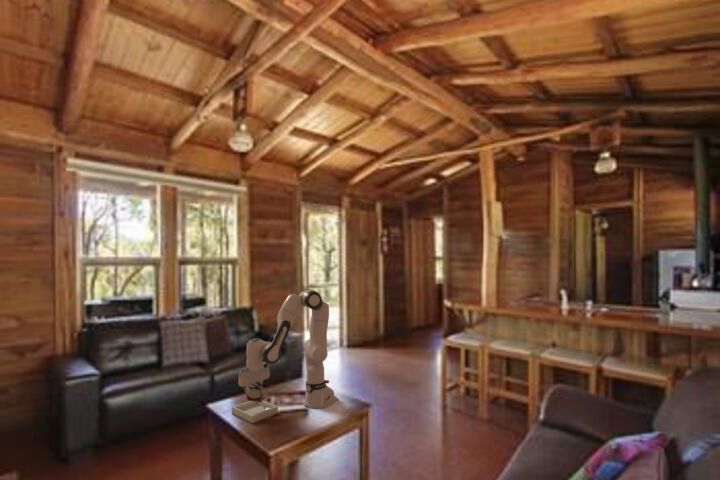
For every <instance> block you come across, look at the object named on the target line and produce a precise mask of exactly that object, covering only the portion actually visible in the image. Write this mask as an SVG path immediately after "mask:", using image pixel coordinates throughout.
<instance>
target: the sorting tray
mask: <svg viewBox="0 0 720 480" xmlns="http://www.w3.org/2000/svg"><path fill="white" fill-rule="evenodd" d="M264 406H268V407H269V408H270V409H268V410H264ZM277 414H279V406H278V405H275V404H272V403H270V402H267V401H265V400H264V399H263V400H262V402H254V401H248V400H247V401H246V402H243V403H240V404H238V405H235V406H232V407H231V415H233V416H236V417H237V418H240V419H241V420H244V421H245V420H246V422H248V423H250V424H255V423H258V422H259V421H260V422H261V421H262V420H265V419H267V418H270V417H273V416H275V415H277Z"/></svg>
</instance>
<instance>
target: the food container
mask: <svg viewBox="0 0 720 480" xmlns="http://www.w3.org/2000/svg"><path fill="white" fill-rule="evenodd" d="M248 387H249V388H251V391H250V392H247V388H246V387H245V386H243V387H242V389H244V392H245V396H246V400H247V402H248V401H254V402H262V400H263V401H264V399H263V388H264V386H263V383H262V384H261V383H260V382H256V383H252V384H249V386H248Z"/></svg>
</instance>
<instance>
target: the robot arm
mask: <svg viewBox="0 0 720 480" xmlns="http://www.w3.org/2000/svg"><path fill="white" fill-rule="evenodd" d="M322 298H323V297H322V296H321V294H320V293H319V292H318V291H316V290H314V289H310V288H305V289H303V290H301V291H300V292H299V293H297V294H296V293H291V294H289V295H288V296H287V297H286V299H285V300H284V302H283V303H282V305H281V307H280V308H279V311H278V314H277V317H276V321H277V330H276V334H275V335H274V338H273V340H272V342H271V341H266V340H263V339H261V338H259V337H255V338H252V339H249V340H248V341H247V344H246V352H245V354H246V355H245V356H246V360H245V361H246V368H244V369H241V370H240V371H239V372H238V381H237V385H238V386H239V387H242V388H243V386H245V387H246V388H247V392H250V391H251V388H249V387H248V386H249V384H252V383H256V382H260V383H261V384H262V385H263V383H264V380H267V379H270V377H271V371H270V367H269V366H270V365H275V364H277V363H278V362H280V361H279V360H280V359H281V355H282V348H283V346H284V343H285V341H286V340H287V339H286V338H287V337H288V334H289V332H290V329H291V328H292V327H293V324H294V323H295V321H296V319H297V317H298V314H299V312H300V310H302V308H304V307H306V308H309V309H310V310H311V317H310V324H309V328H308V329H309V339H307V340H306V341H305V342H304V343H303V344H304V345H303V349H304V350H303V351H304V359H305V365H306V366H305V367H306V368H305V369H306V370H305V371H306V381H305V395H304V396H305V397H304V400H305V401H304V402H305V404H306V405H307V406H308V407H307V408H309V409H318V408H319V409H320V408H321V409H322V408H325V409H326V408H328V407H329V406H331V405H333V404H334V403H335V402H337V401H339V398H338V397H337V396H336V395H335V392H334V390H333V389H332V388H331V387H329V385H327V384H330V380H328V379H325V366H324V361H326V359H327V358H328V355H329V354H328V338H327V337H328V325H329V319H330V306H329V304H328V303H327V302H325V301H324V300H323V299H322Z"/></svg>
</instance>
